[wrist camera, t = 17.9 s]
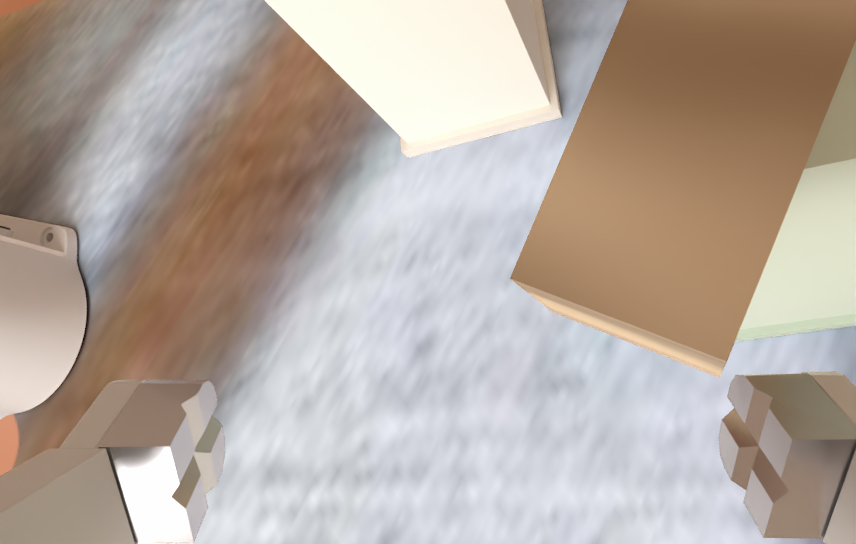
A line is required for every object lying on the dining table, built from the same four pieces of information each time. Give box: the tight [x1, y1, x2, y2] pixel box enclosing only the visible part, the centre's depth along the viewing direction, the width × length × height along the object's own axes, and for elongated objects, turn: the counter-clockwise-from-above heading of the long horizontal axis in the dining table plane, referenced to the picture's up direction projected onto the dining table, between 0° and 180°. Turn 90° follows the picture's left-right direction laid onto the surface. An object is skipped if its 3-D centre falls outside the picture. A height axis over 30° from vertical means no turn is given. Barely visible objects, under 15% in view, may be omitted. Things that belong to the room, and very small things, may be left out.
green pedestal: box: [735, 41, 856, 342], centre depth 25 cm, size 13×11×26 cm
